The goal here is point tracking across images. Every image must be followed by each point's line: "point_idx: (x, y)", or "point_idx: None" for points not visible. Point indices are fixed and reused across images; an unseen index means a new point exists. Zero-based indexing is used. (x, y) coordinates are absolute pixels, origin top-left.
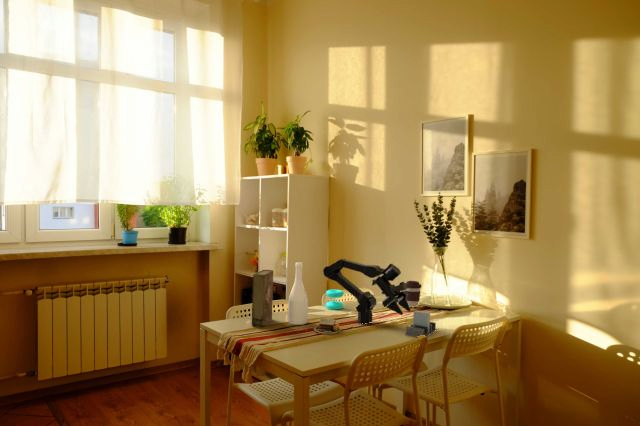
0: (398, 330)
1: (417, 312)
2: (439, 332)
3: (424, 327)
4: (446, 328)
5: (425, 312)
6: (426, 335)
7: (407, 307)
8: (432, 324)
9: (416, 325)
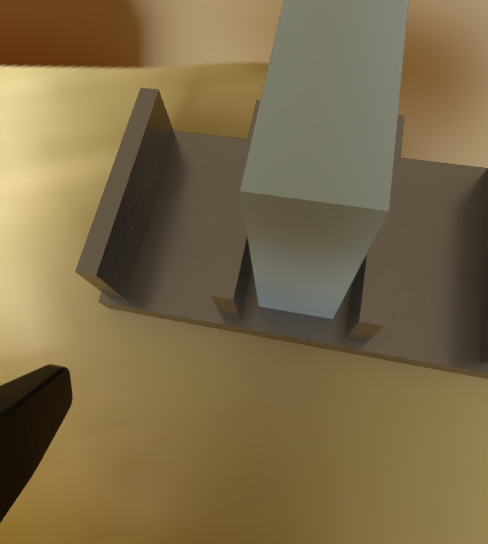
0: (330, 513)
1: (393, 137)
2: (197, 112)
3: (397, 154)
4: (34, 90)
5: (337, 12)
6: (428, 165)
7: (3, 448)
8: (155, 129)
9: (390, 244)
